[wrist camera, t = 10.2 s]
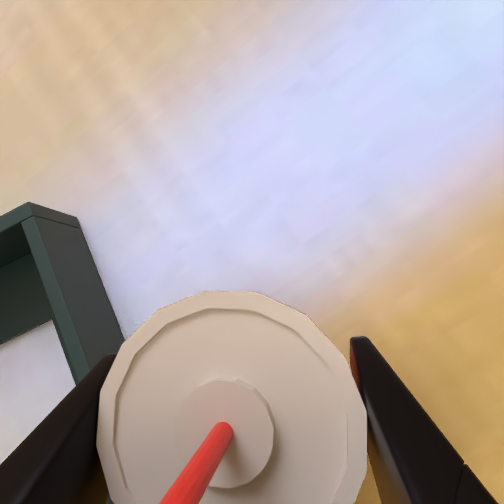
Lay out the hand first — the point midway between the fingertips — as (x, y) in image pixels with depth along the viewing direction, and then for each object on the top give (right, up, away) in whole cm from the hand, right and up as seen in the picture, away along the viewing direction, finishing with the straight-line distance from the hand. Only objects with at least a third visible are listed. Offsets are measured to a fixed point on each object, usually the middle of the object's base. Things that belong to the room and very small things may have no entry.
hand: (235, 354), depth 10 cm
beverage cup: (+1, -2, +7) cm, 8 cm away
